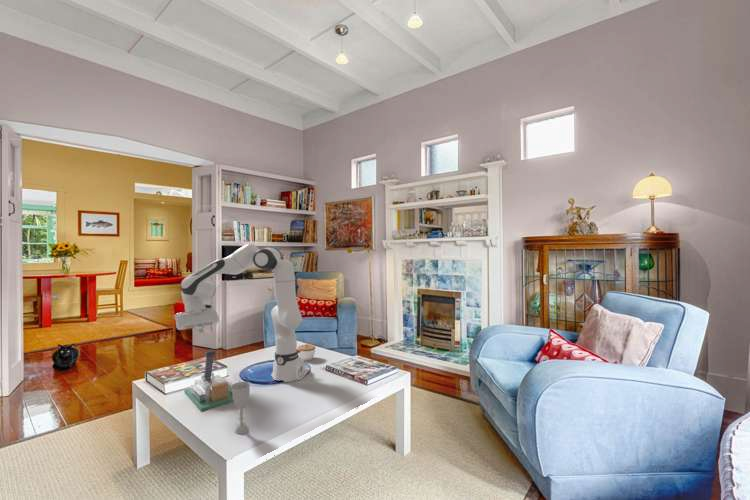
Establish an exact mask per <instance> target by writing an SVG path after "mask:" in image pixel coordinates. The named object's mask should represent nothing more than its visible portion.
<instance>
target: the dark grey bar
mask: <svg viewBox="0 0 750 500" xmlns="http://www.w3.org/2000/svg"><path fill="white" fill-rule="evenodd" d="M215 355H216V350H215V349H208V350H205V352H204V356H205V364H204V373H203V375H204V379H207V378H211V374H212V372H213V365H214V356H215Z"/></svg>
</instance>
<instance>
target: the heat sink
mask: <svg viewBox="0 0 750 500" xmlns="http://www.w3.org/2000/svg"><path fill="white" fill-rule="evenodd" d="M200 377H201V378H200V379H197V380H194V384H191V385H190V388H191V392H192V393H193V394H194V396H195V397H196V398H197V399H198V400H199V401H203V400H204V401H205V402H208V401H211V394H210V385H214V384H218V383H222V382H225V381H226V382H228V395H230V392H233V390H232V388H231V386H232V385H233V384H234V383H232V382H231V381H229V380H228V379H227V378H225V377H224V376H222V377H221V376H220V375H219V374H217V375H215V373H214V372H213V371H212V374H211V378H207V379H204V374H201V375H200Z"/></svg>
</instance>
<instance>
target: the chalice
mask: <svg viewBox="0 0 750 500" xmlns="http://www.w3.org/2000/svg"><path fill="white" fill-rule="evenodd" d="M232 384H233V385H232V386H231V388H232V390H233V403H234V405H235V407H236V409H237V410H239V413H238V414H239V424H237V425H236V428H235V430H234V433H235V434H236V435H242V434H246V433H247V432H249V427H248V425H247V424H246V423H245V422H244V418H245V417H244V409H245V408H246V406H247V404H248V401H249V399H250V396H251V395H250V392H251V391H250V388H251V385H252V382H250V381H239V382H235V383H232Z"/></svg>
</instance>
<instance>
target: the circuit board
mask: <svg viewBox="0 0 750 500" xmlns="http://www.w3.org/2000/svg"><path fill="white" fill-rule="evenodd" d="M191 388H192V387H189V388H187V389H184V390H183V391H184V394H185V395H186V396H187V397H188V398H189V399H190V401H191V402H192V403H193V404H194V405H195V406H196V408H198V410H199V411H200V412H203V411H206V410H209V409H213V408H216V407H220V406H222V405H226V404H230V403H234V401H233V392H230V395H228V398H227V399H223V400H220V401H216V402H213V403H212V402H211V401H208V402H205V401H204V400H203V401H199V400H198V399H197V398H196V397H195V396H194V394H193V393H192V392H191Z"/></svg>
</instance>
